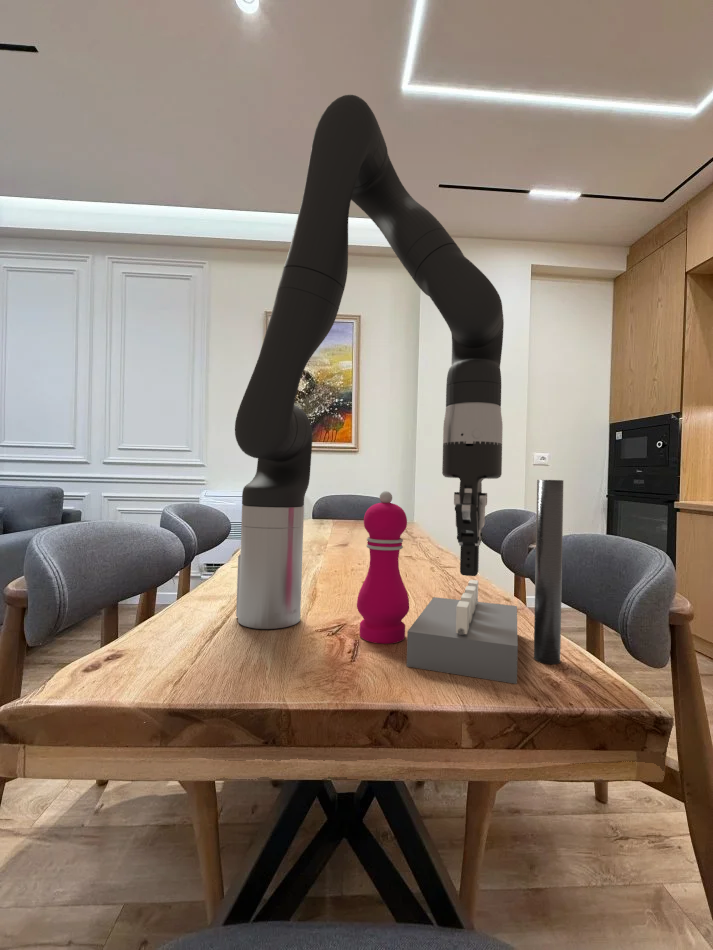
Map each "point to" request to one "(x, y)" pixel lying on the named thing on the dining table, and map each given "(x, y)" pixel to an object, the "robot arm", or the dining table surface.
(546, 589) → the black cord post
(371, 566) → the pepper mill
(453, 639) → the breaker panel
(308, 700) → the dining table surface
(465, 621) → the breaker paddles
